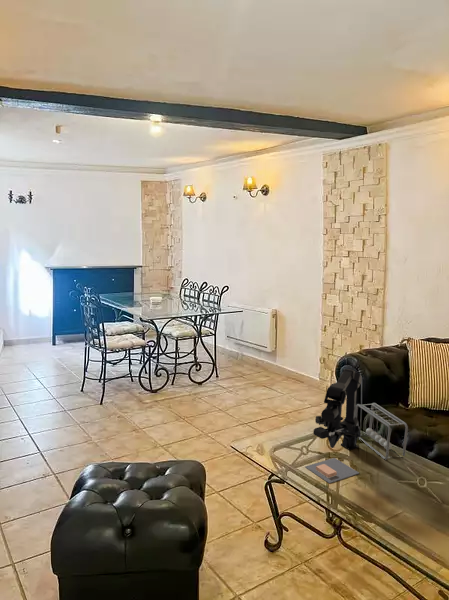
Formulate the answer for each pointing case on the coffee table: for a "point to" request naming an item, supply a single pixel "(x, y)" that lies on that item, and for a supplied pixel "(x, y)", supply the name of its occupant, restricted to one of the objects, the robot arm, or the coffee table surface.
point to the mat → (336, 465)
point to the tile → (326, 471)
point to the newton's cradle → (374, 434)
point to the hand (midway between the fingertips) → (332, 447)
